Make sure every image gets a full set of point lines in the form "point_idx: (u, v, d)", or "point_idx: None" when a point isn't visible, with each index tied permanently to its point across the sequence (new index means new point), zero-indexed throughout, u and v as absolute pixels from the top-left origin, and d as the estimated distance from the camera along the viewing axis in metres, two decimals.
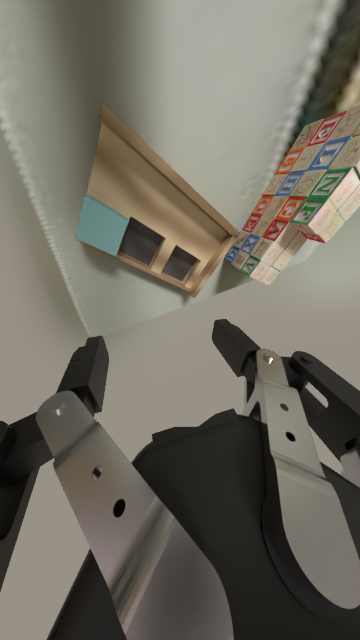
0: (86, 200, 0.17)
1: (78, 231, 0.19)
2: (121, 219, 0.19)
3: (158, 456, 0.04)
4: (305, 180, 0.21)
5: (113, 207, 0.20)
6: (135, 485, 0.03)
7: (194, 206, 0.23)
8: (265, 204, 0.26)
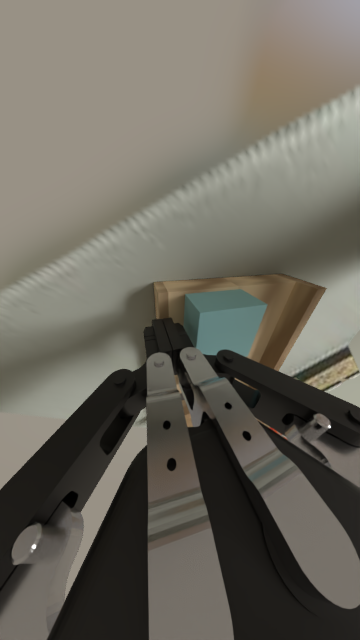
0: (261, 308, 0.10)
1: (213, 313, 0.09)
2: (248, 349, 0.12)
3: None
4: None
5: None
6: (186, 460, 0.04)
7: None
8: None
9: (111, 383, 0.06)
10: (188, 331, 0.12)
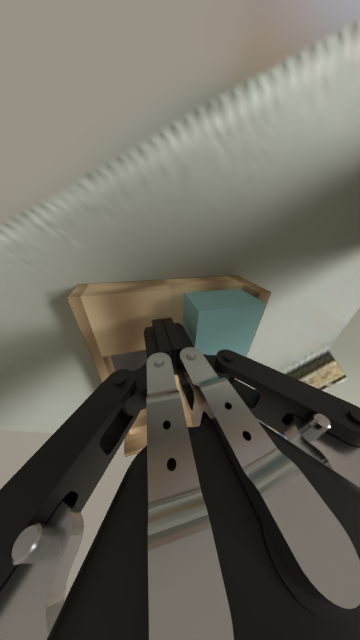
0: (260, 308, 0.10)
1: (212, 312, 0.09)
2: (247, 349, 0.12)
3: None
4: None
5: None
6: (187, 460, 0.04)
7: None
8: None
9: (111, 383, 0.06)
10: (187, 330, 0.12)
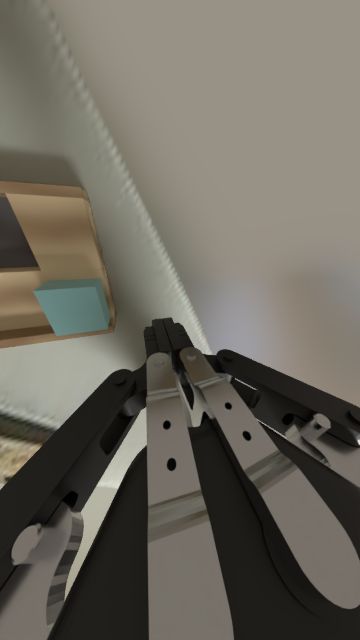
0: (104, 326, 0.17)
1: (96, 295, 0.15)
2: (64, 333, 0.16)
3: None
4: None
5: (66, 267, 0.15)
6: (187, 461, 0.04)
7: None
8: None
9: (111, 383, 0.06)
10: (69, 283, 0.15)
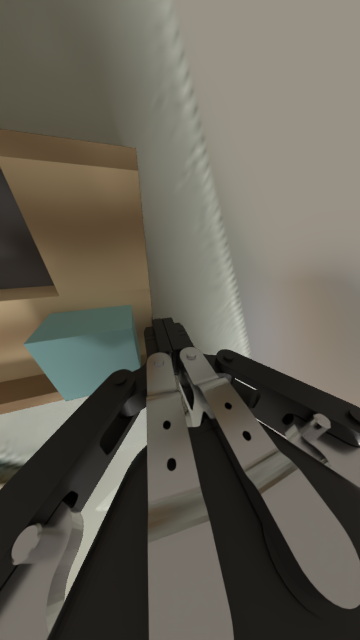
0: None
1: (131, 341, 0.09)
2: (78, 396, 0.10)
3: None
4: None
5: (99, 288, 0.10)
6: (186, 461, 0.04)
7: None
8: None
9: (111, 383, 0.06)
10: (86, 318, 0.09)
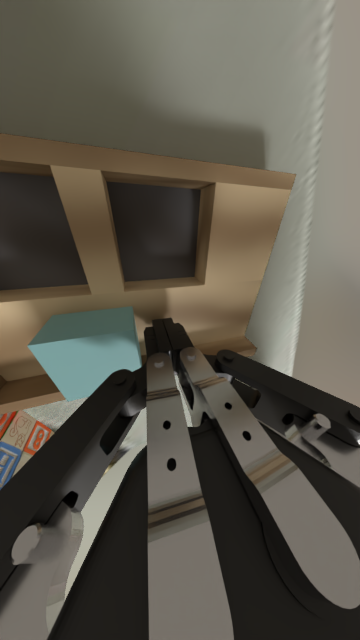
0: None
1: (133, 342, 0.09)
2: (80, 396, 0.10)
3: None
4: None
5: (231, 279, 0.12)
6: (187, 460, 0.04)
7: None
8: None
9: (111, 383, 0.06)
10: (88, 320, 0.09)
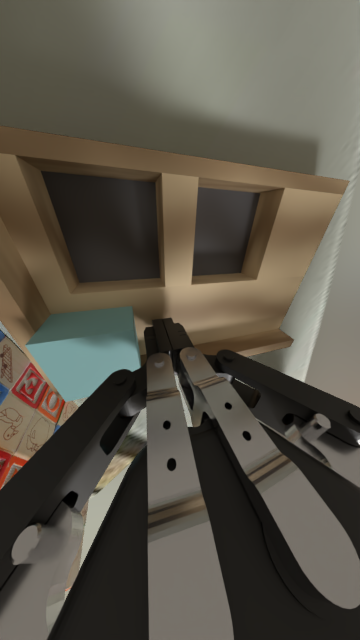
0: None
1: (132, 342, 0.09)
2: (78, 397, 0.10)
3: None
4: None
5: (278, 275, 0.13)
6: (187, 460, 0.04)
7: None
8: (51, 408, 0.14)
9: (111, 383, 0.06)
10: (87, 320, 0.09)
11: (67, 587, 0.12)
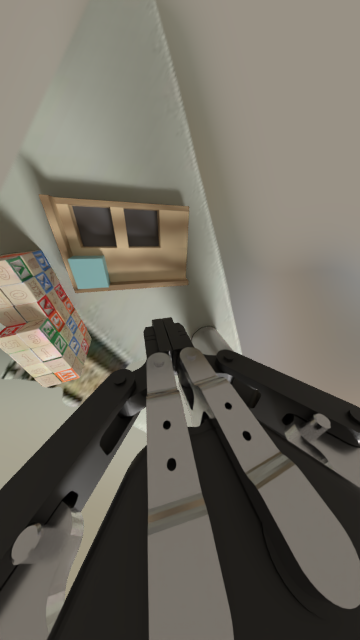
0: (106, 285, 0.27)
1: (102, 264, 0.25)
2: (82, 287, 0.26)
3: None
4: (68, 333, 0.28)
5: (172, 246, 0.30)
6: (187, 460, 0.04)
7: (124, 280, 0.30)
8: (68, 307, 0.31)
9: (111, 383, 0.06)
10: (86, 256, 0.25)
11: (76, 372, 0.28)
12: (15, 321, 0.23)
